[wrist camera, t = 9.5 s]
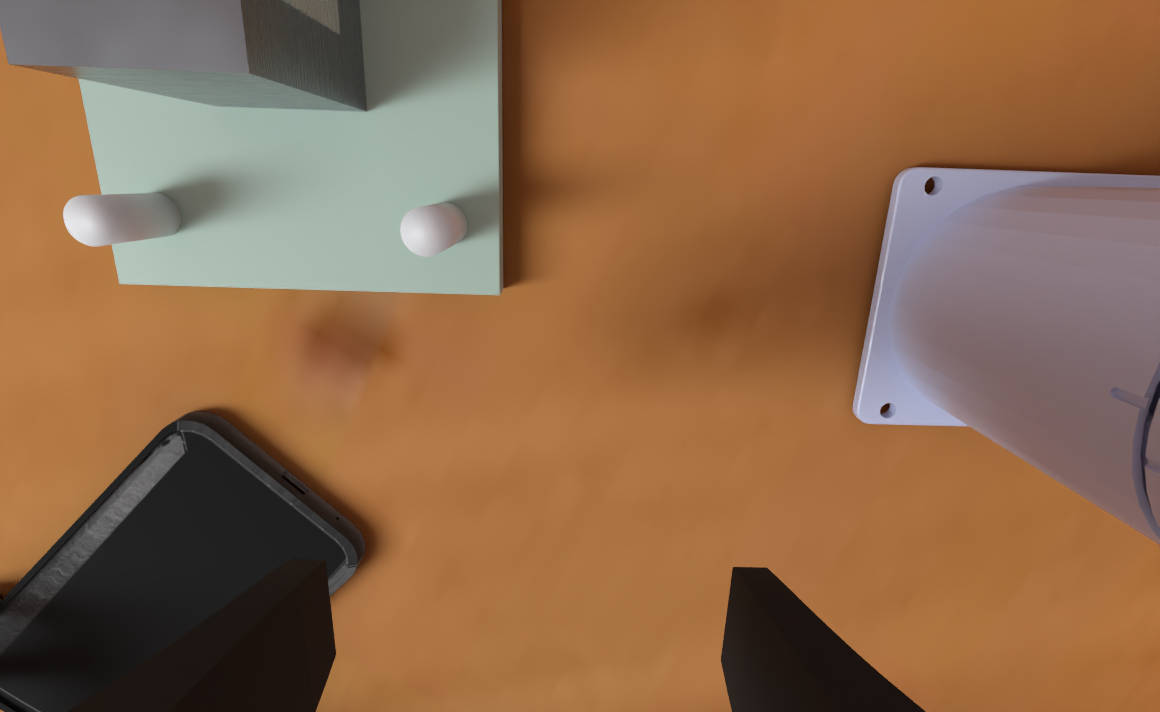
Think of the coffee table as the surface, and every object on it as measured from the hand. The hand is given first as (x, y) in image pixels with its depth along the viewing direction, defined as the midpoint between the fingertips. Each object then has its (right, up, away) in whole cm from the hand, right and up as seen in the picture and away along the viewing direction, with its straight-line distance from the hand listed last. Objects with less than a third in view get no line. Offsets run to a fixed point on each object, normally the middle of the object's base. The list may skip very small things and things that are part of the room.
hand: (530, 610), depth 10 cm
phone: (-14, -4, +12) cm, 19 cm away
